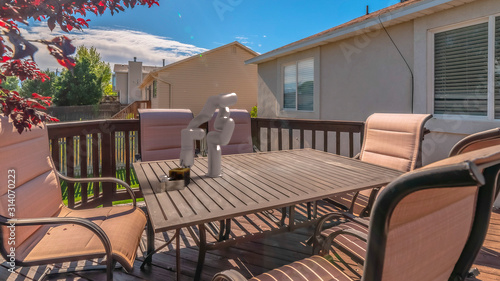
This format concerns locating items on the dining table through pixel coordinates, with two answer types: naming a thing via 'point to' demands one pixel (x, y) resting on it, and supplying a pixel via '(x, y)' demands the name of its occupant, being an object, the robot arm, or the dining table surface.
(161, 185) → the centring jig
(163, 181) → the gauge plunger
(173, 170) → the candle
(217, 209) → the dining table surface
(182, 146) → the robot arm
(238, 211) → the dining table surface
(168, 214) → the dining table surface
